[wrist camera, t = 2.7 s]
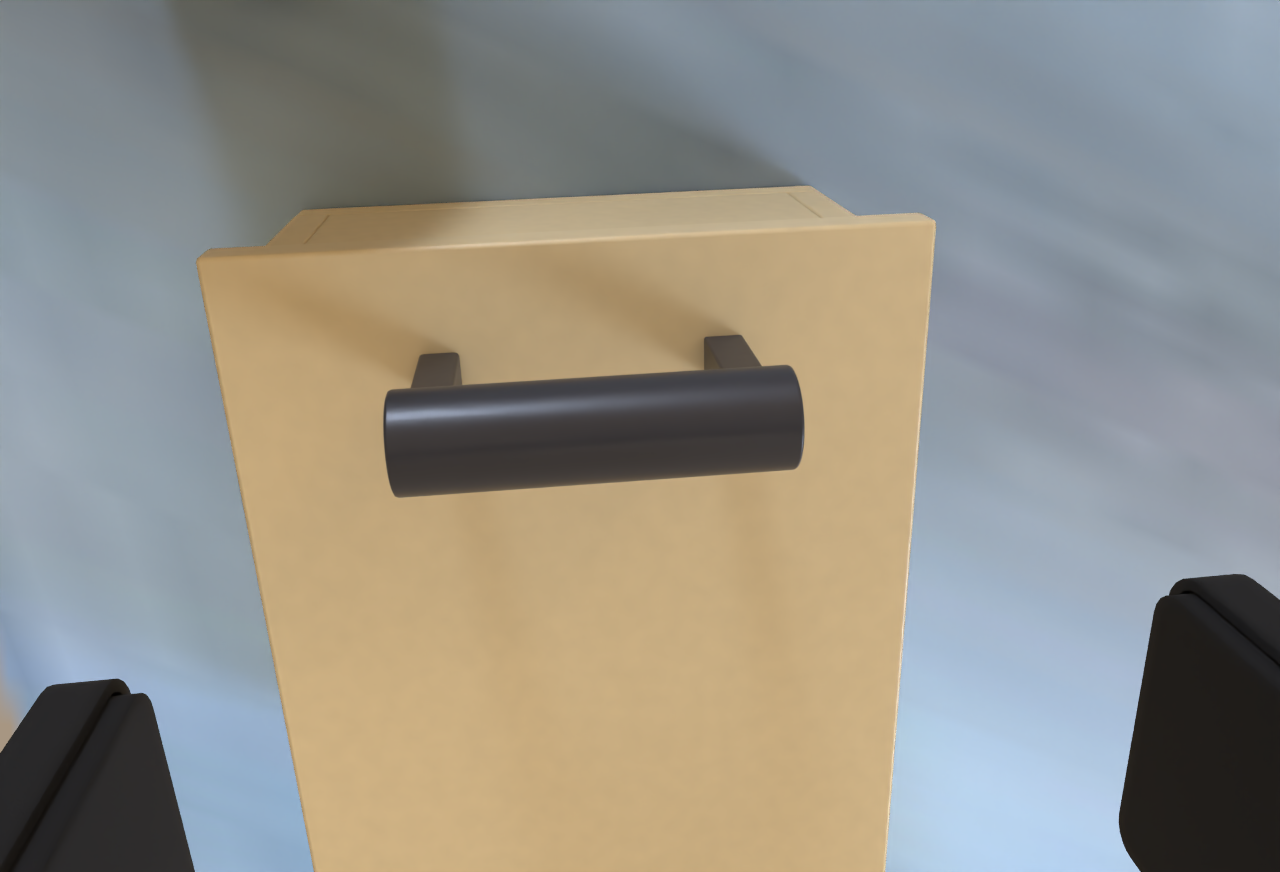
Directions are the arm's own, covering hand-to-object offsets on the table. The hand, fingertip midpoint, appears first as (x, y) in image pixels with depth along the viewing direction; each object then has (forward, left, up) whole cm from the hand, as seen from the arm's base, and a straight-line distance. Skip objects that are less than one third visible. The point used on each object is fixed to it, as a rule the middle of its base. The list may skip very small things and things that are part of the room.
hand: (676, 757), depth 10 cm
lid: (+5, 0, -11) cm, 12 cm away
